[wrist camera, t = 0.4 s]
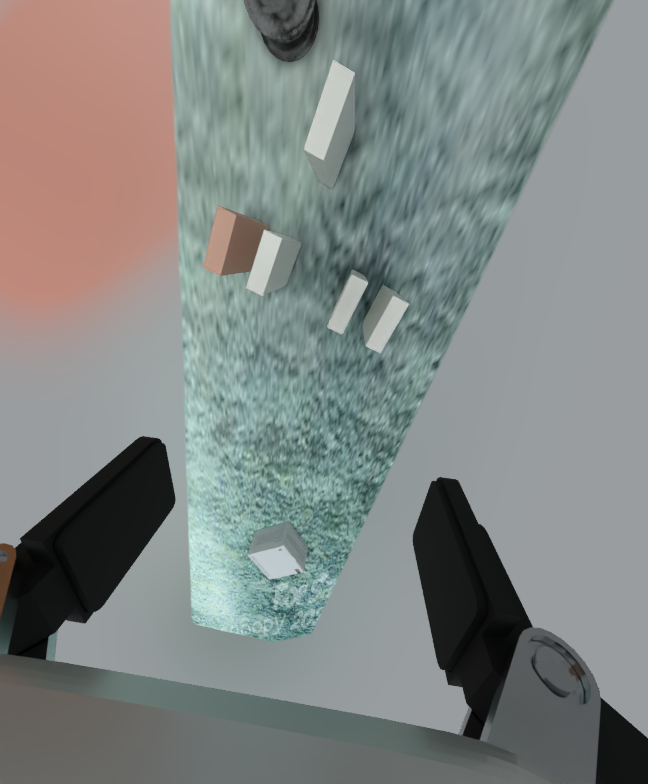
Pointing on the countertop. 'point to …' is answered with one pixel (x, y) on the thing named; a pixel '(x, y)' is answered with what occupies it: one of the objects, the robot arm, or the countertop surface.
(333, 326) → the domino
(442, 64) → the countertop surface
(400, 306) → the domino
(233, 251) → the end domino
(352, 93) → the domino
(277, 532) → the small box
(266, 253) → the domino
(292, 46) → the dark grey ornamental finial
